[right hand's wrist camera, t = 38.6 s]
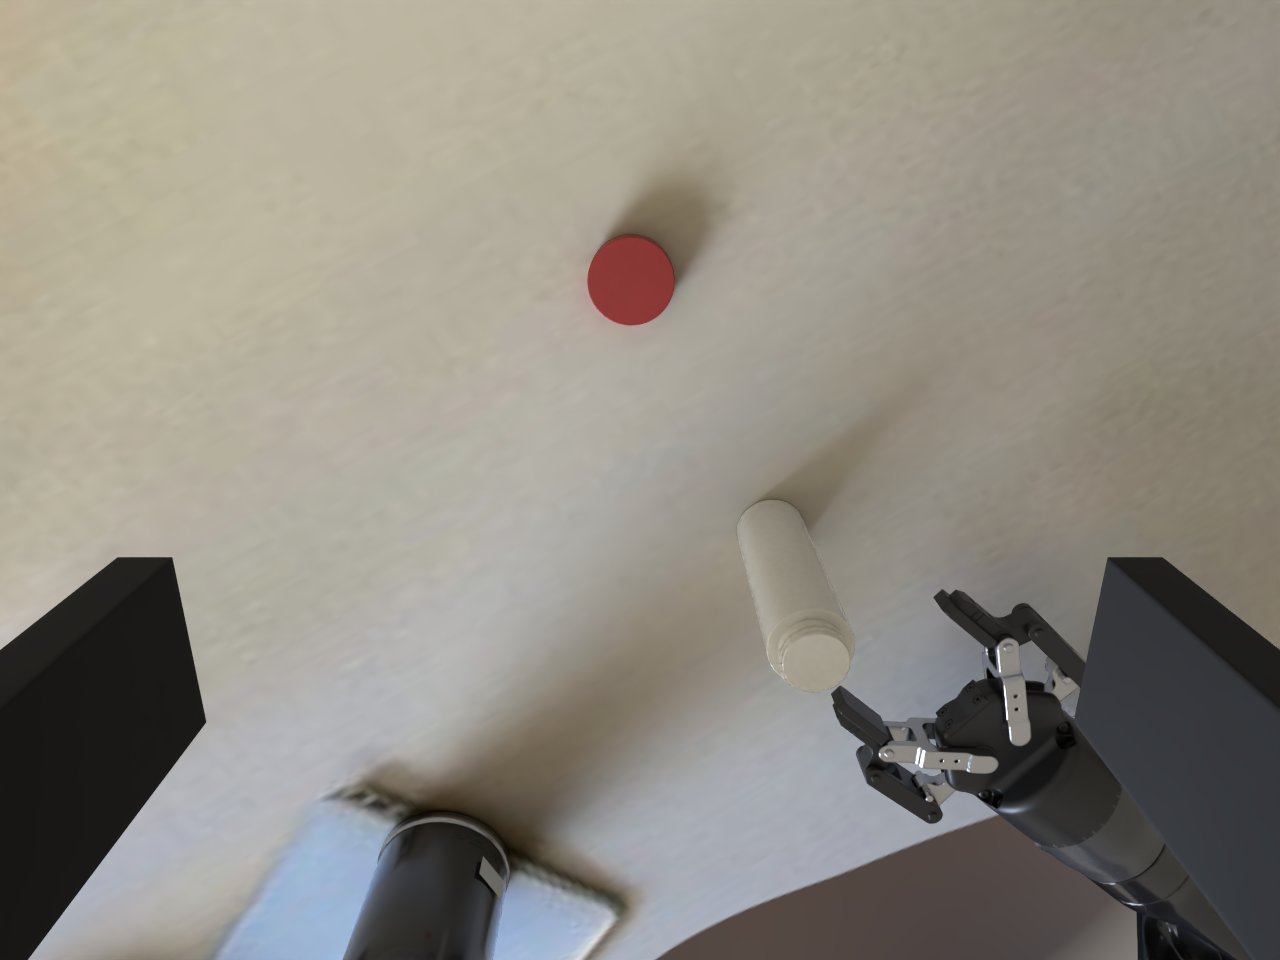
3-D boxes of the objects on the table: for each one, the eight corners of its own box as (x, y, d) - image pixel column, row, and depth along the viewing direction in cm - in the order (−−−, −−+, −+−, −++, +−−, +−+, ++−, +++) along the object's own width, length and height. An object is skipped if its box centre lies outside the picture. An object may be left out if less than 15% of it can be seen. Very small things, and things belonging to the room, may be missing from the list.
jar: (776, 485, 54) (825, 606, 40) (818, 533, 55) (880, 667, 41) (722, 527, 55) (752, 660, 41) (764, 573, 56) (807, 717, 42)
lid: (594, 323, 51) (592, 329, 49) (584, 238, 49) (582, 241, 47) (677, 315, 50) (677, 321, 49) (669, 229, 49) (670, 232, 47)
